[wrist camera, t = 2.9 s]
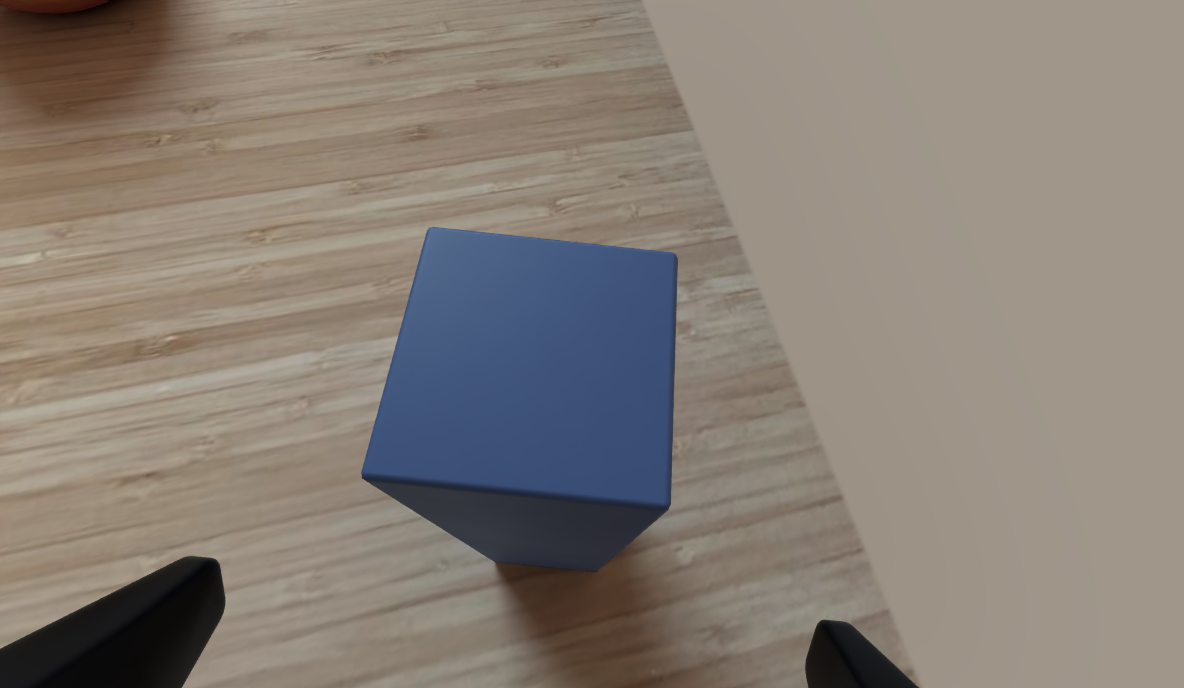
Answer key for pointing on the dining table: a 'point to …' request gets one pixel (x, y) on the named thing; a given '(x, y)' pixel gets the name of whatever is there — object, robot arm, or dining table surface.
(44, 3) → the apple
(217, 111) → the dining table surface
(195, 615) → the robot arm
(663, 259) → the peg
